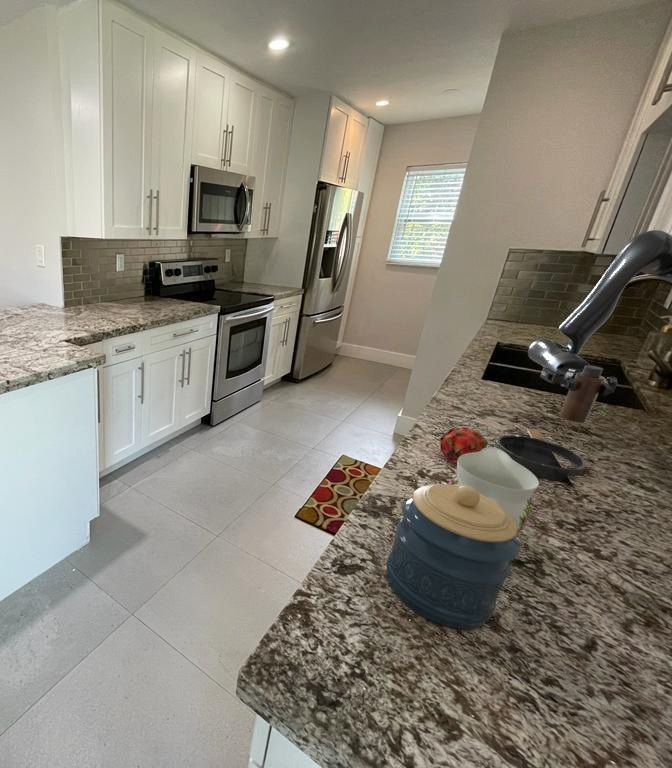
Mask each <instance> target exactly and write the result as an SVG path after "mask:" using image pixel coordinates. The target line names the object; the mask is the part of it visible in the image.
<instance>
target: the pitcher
mask: <svg viewBox="0 0 672 768" xmlns="http://www.w3.org/2000/svg"><path fill="white" fill-rule="evenodd" d="M456 465H457V466H456V473H455V474H454V475H453V476H452V477H451V478H450V480H449V481H448V483H447V484H448V485H455V486H460V487H461V486H471V487H473V488H475V489H476V490H477V491H478V493H480V494H482V495H484V496H486V497H488V498H489V499H491V500H493V501H494V502H495V503H497V504H498V505H499V506H500V507H501V508H502V509H503V510H504V511H506V512H507V513H508V514H509V515H510V516H511V517H512V519H513V520H514V521H515V523H516V526H517V533H516V535H515V537H516V538H517V537H518V536H519V534H521V533H522V531H523V530H524V528H525V526H526V525H527V523H528V521H529V517H530V514H531V497H532V495H533V494H534V493H535V491H536V490H537V489H538V488H539V485H540V481H539V479H538V477H537V476H535V475H534V474H533V473H532V472H530V471H529V470H528V469H526V468H525V467H523V466H522V465H520V464H518V463H517V462H515V461H514V460H512V459H511V457H510V456H509V455H508V454H506V453H505V452H504V451H502V450H500V449H498V448H494V446H488V447H487V446H486V447H485V448H484V449H482V450H481V451H479V452H473V453H467V454H463V455H461V456H460V457H459V458H458V461H457V463H456Z"/></svg>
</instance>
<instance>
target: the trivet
mask: <svg viewBox="0 0 672 768" xmlns="http://www.w3.org/2000/svg"><path fill="white" fill-rule="evenodd" d="M525 432H527V434H528V437H531V438H536V439H540V440H544V441H546V440H545V439H544V437H543V436H542V434H541V433H545V434H549V435H555V436H561V437H565V438H566V437H567V438H570V439H571V438H572V439H576V440H582V441H589V440H588V439H586V438H582V437H581V438H580V437H576V436H571V435H565V434H562V433H561V434H560V433H554V432H550V431H545V430H539V429H535V428H529V427H526V428H525Z"/></svg>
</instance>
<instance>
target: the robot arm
mask: <svg viewBox="0 0 672 768" xmlns="http://www.w3.org/2000/svg"><path fill="white" fill-rule="evenodd" d="M639 273H642V274H646V275H649V276H652V277H656V278H658V279H662V280H664V281H667V282H669V283H672V234H670V233H668V232H667V231H663V230H660V229H651V230H647V231H644V232H641V233H639V234H637V235H635V236H634V237H633V238H631V239H630V240H629V241H628V242H627V243H626V244H625V245H624V247H622V248H621V250H620V251H619V252H618V254H617V255H616V256H615V258H614V259H613V261H612V262H611V263H610V265H609V266H608V268H607V269H606V271H605V272H604V274H602V276H601V277H600V279H599V281H597V283H596V285H595V286H594V287H593V289H592V290H591V292H590V293H589V294H588V295H587V296H586V297H585V299H584V300H583V301H582V302H581V303H580V304H579V306H578V307H576V308H575V309H574V311H573V312H572V313H571V314H570V315H568V317H567V318H565V320H564V321H562V323H561V324H560V325H559V327H558V329H557V330H558V332H559V333H560V334H562V335H563V336H564V337H566V339H568V343H567V345H565V344H562V343H560V342H558V341H556V340H553V339H551V338H547V337H545V338H540V339H537V340H535V341H533V343H531V344H530V346H529V347H528V351H527V355H528V358H529V359H530V360H532V361H533V362H534V363H536V364H538V365H540V366H541V367H542V370H541V372H540V376H539V377H540V378H541V379H542V380H544V381H546V382H548V383H550V384H552V385H559V386H561V387H564V388H566V389H567V390H568V391H569V390H570V391H575V389H576V386H577V382H576V381H575V380H574V377H575V375H576V373H577V372H583V369H584V367H585V366H586V365H590V366H592V364H590V363H589V362H588V361H586V360H585V359H584V358H583V357H581V356H580V355H579V354H580V353H581V350H582V349H583V347H584V345H585V344H586V343H587V342H588V340H589V339H590V337H591V336H592V335H593V334H595V332H597V330H599V329H600V328H601V327H602V325H604V324H605V323H606V321H607V320H608V319H609V318H610V317H611V316H612V314H613V312H614V311H615V308H616V306H617V304H618V301H619V299H620V297H621V295H622V293H623V292H624V290H625V288H626V286H627V285H628V284H629V283H630V282H631V281H632V279H634V278H635V276H637V274H639ZM617 386H618V378H617V377H615V376H609V377H608V376H607V377H606V378H605V380H604V382H603V384H602V387H601V389H600V391H599V393H598V395H600V396H602V397H607V396H610V395H611V394H613V393H614V392H615V389H616V387H617Z"/></svg>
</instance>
